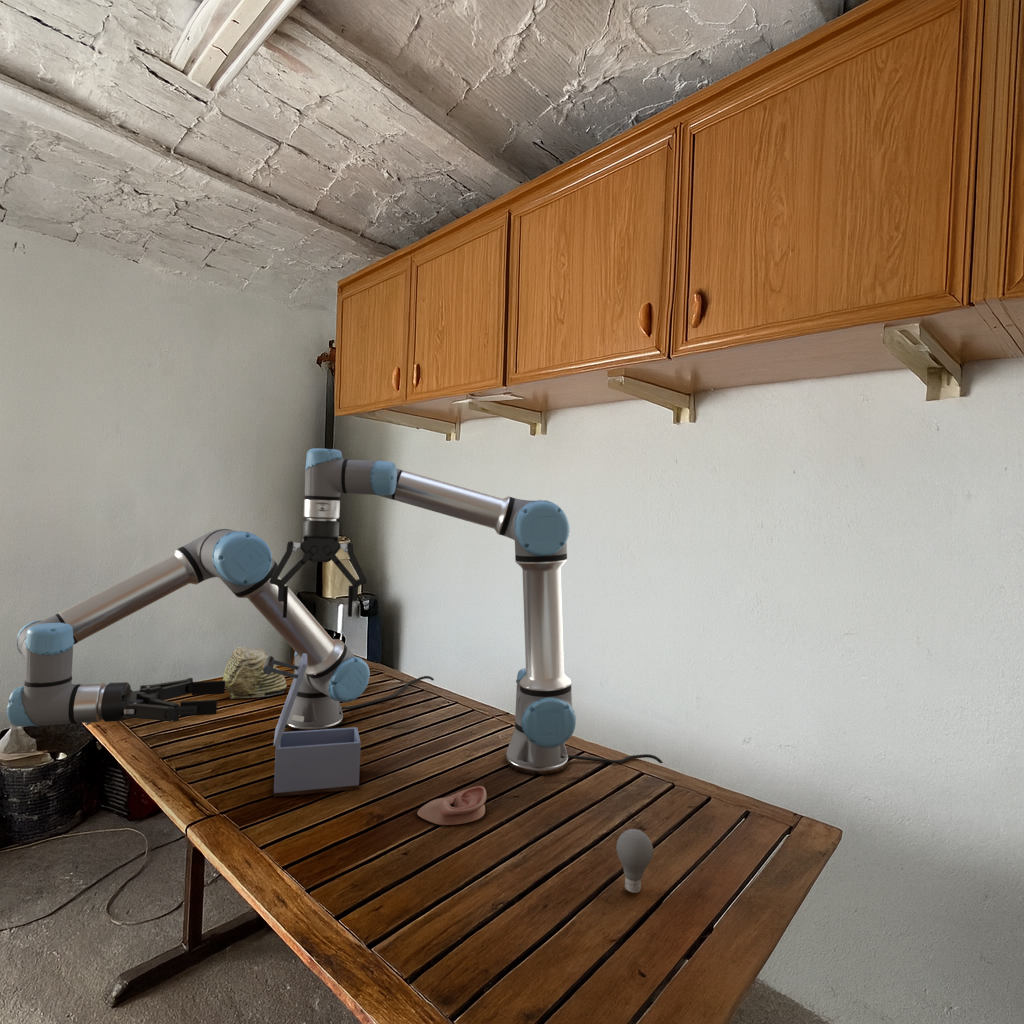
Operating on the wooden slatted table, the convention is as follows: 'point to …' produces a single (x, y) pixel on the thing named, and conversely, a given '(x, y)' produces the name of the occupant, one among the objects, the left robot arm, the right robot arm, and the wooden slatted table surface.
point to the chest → (317, 761)
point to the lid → (292, 692)
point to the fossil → (251, 675)
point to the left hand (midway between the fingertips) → (221, 696)
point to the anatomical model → (456, 807)
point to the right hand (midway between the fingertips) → (317, 616)
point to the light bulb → (634, 857)
